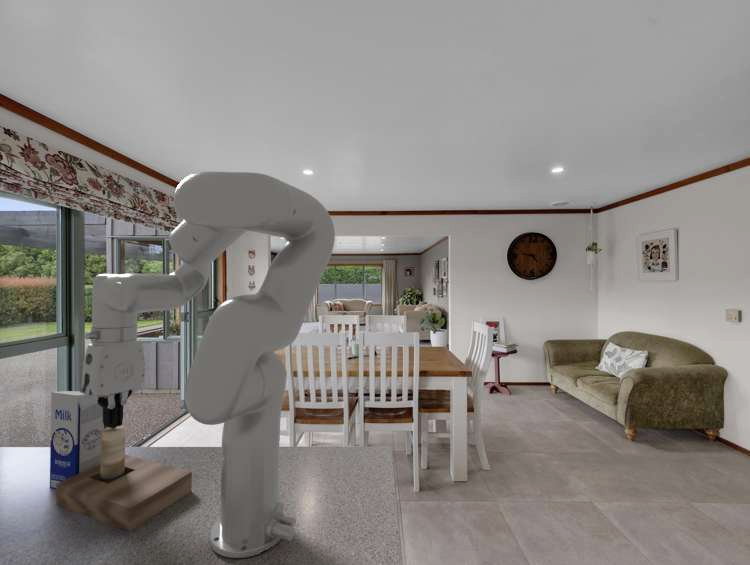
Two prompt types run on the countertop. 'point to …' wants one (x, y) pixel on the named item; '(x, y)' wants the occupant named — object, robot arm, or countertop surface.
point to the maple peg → (112, 454)
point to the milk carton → (74, 435)
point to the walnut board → (125, 492)
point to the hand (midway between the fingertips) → (112, 425)
